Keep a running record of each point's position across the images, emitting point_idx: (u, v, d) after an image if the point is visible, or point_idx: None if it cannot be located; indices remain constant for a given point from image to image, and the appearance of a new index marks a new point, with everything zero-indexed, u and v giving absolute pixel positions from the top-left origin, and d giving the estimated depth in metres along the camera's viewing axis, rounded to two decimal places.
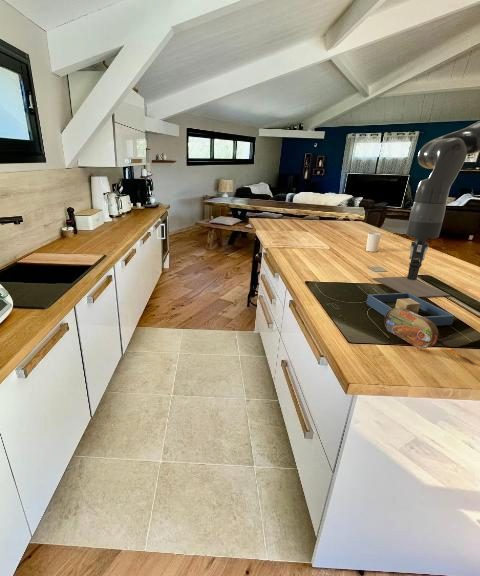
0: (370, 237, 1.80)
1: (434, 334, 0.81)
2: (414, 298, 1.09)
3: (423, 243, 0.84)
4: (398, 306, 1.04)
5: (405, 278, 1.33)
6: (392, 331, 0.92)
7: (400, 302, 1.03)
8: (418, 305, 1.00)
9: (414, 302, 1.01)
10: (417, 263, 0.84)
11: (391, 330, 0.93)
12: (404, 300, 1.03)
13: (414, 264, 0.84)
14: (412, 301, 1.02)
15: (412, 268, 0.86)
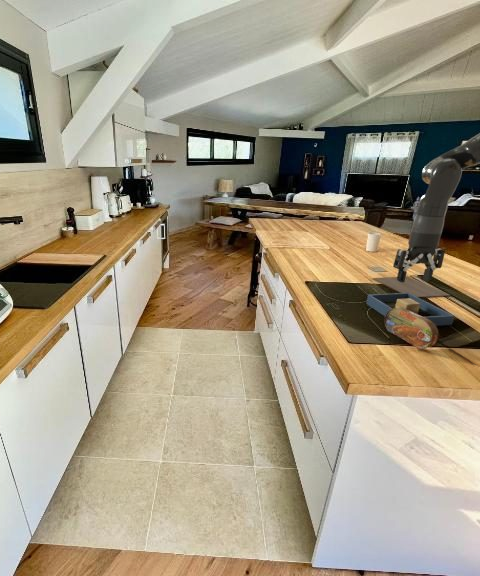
0: (370, 237, 1.80)
1: (434, 334, 0.81)
2: (414, 298, 1.09)
3: (411, 250, 0.95)
4: (398, 306, 1.04)
5: (405, 278, 1.33)
6: (392, 331, 0.92)
7: (400, 302, 1.03)
8: (418, 305, 1.00)
9: (414, 302, 1.01)
10: (397, 266, 0.97)
11: (391, 330, 0.93)
12: (404, 300, 1.03)
13: (395, 266, 0.97)
14: (412, 301, 1.02)
15: (399, 271, 0.98)
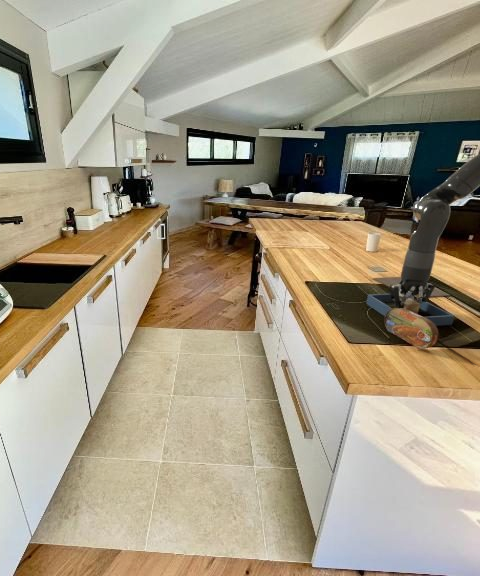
0: (370, 237, 1.80)
1: (434, 334, 0.81)
2: None
3: (403, 283, 0.99)
4: None
5: None
6: (392, 331, 0.92)
7: None
8: (418, 305, 1.00)
9: (414, 302, 1.01)
10: (394, 300, 1.01)
11: (391, 330, 0.93)
12: None
13: (392, 300, 1.02)
14: (412, 301, 1.02)
15: (396, 304, 1.03)
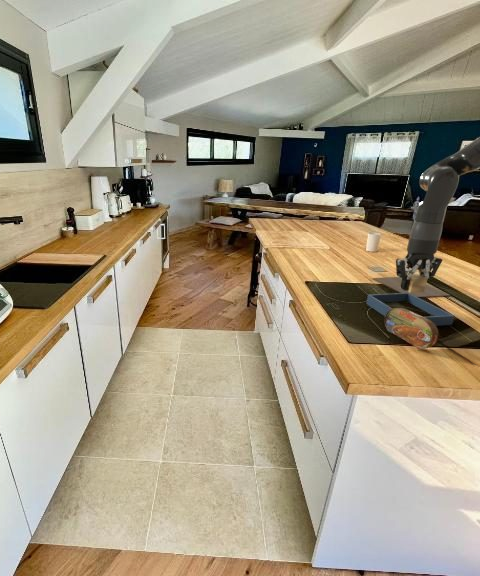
0: (370, 237, 1.80)
1: (434, 334, 0.81)
2: (414, 298, 1.09)
3: (409, 256, 0.96)
4: None
5: None
6: (392, 331, 0.92)
7: None
8: (425, 280, 0.97)
9: (421, 277, 0.98)
10: (400, 275, 0.98)
11: (391, 330, 0.93)
12: None
13: (398, 275, 0.99)
14: (418, 276, 0.99)
15: (402, 279, 1.00)
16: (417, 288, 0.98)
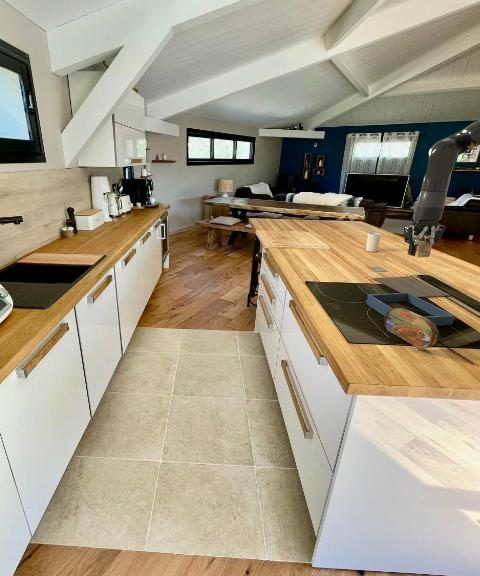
0: (370, 237, 1.80)
1: (434, 334, 0.81)
2: (414, 298, 1.09)
3: (416, 223, 1.05)
4: None
5: (405, 278, 1.33)
6: (392, 331, 0.92)
7: None
8: (430, 245, 1.07)
9: (426, 243, 1.08)
10: (408, 241, 1.07)
11: (391, 330, 0.93)
12: None
13: (406, 241, 1.08)
14: (424, 242, 1.08)
15: (409, 245, 1.09)
16: (423, 253, 1.08)
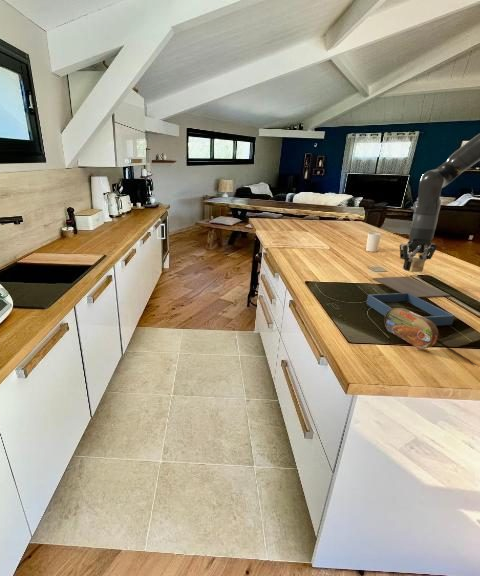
0: (370, 237, 1.80)
1: (434, 334, 0.81)
2: (414, 298, 1.09)
3: (411, 242, 1.18)
4: None
5: (405, 278, 1.33)
6: (392, 331, 0.92)
7: None
8: (423, 261, 1.19)
9: (420, 259, 1.20)
10: (403, 257, 1.20)
11: (391, 330, 0.93)
12: None
13: (402, 257, 1.21)
14: (418, 258, 1.21)
15: (404, 261, 1.22)
16: (417, 269, 1.20)
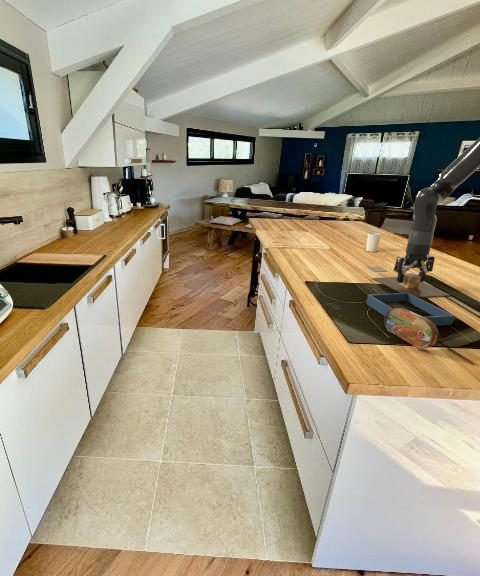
0: (370, 237, 1.80)
1: (434, 334, 0.81)
2: (414, 298, 1.09)
3: (407, 257, 1.20)
4: None
5: None
6: (392, 331, 0.92)
7: (404, 276, 1.24)
8: (419, 278, 1.22)
9: (416, 275, 1.23)
10: (397, 270, 1.22)
11: (391, 330, 0.93)
12: (407, 274, 1.24)
13: (395, 270, 1.22)
14: (414, 275, 1.23)
15: (398, 273, 1.23)
16: (413, 285, 1.23)
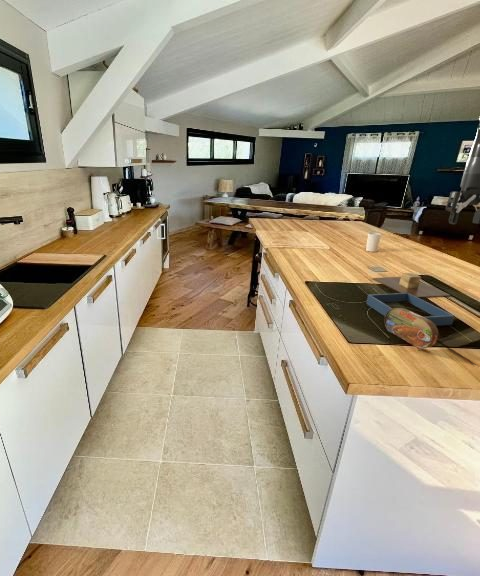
0: (370, 237, 1.80)
1: (434, 334, 0.81)
2: (414, 298, 1.09)
3: (464, 191, 1.00)
4: (402, 279, 1.25)
5: None
6: (392, 331, 0.92)
7: (404, 276, 1.24)
8: (419, 278, 1.22)
9: (416, 275, 1.23)
10: (450, 207, 1.02)
11: (391, 330, 0.93)
12: (407, 274, 1.24)
13: (448, 208, 1.03)
14: (414, 275, 1.23)
15: (451, 213, 1.04)
16: (413, 285, 1.23)
